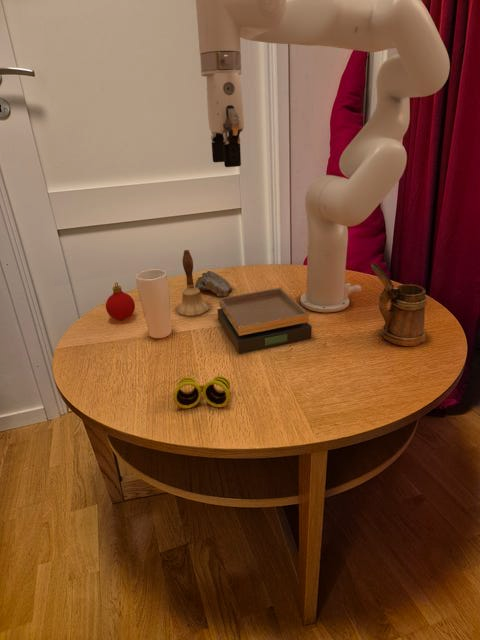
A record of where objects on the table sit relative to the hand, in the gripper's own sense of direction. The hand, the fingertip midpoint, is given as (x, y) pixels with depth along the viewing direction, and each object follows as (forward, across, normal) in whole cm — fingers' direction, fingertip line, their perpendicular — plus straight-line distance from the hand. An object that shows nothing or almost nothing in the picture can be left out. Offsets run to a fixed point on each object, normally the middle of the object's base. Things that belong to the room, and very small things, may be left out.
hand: (226, 164), depth 83 cm
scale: (+36, -6, -5) cm, 37 cm away
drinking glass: (+37, +1, +18) cm, 41 cm away
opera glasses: (+37, -27, +14) cm, 48 cm away
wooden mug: (+36, -21, -30) cm, 51 cm away
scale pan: (+32, -6, -5) cm, 33 cm away
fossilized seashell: (+36, +21, 0) cm, 42 cm away
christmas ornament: (+37, +12, +26) cm, 47 cm away
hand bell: (+36, +11, +8) cm, 39 cm away
